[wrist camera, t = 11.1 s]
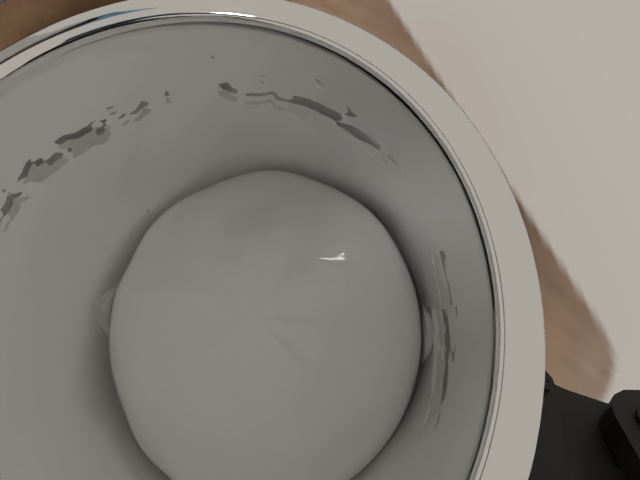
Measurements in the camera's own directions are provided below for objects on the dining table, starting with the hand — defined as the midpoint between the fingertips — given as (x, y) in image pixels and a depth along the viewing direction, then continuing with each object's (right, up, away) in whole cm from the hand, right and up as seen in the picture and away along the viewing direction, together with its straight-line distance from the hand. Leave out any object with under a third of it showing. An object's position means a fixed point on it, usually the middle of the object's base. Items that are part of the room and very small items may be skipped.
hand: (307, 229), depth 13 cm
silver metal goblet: (0, -5, +4) cm, 7 cm away
